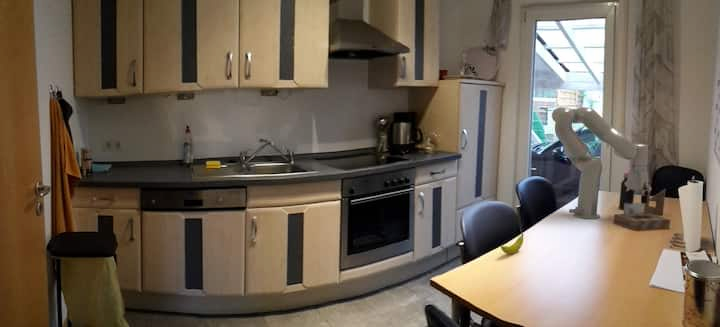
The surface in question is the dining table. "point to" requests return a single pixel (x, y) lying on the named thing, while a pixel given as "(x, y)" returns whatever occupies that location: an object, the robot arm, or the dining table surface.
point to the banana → (513, 246)
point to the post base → (641, 221)
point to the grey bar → (633, 208)
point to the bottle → (624, 193)
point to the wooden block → (659, 203)
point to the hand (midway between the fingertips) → (636, 201)
